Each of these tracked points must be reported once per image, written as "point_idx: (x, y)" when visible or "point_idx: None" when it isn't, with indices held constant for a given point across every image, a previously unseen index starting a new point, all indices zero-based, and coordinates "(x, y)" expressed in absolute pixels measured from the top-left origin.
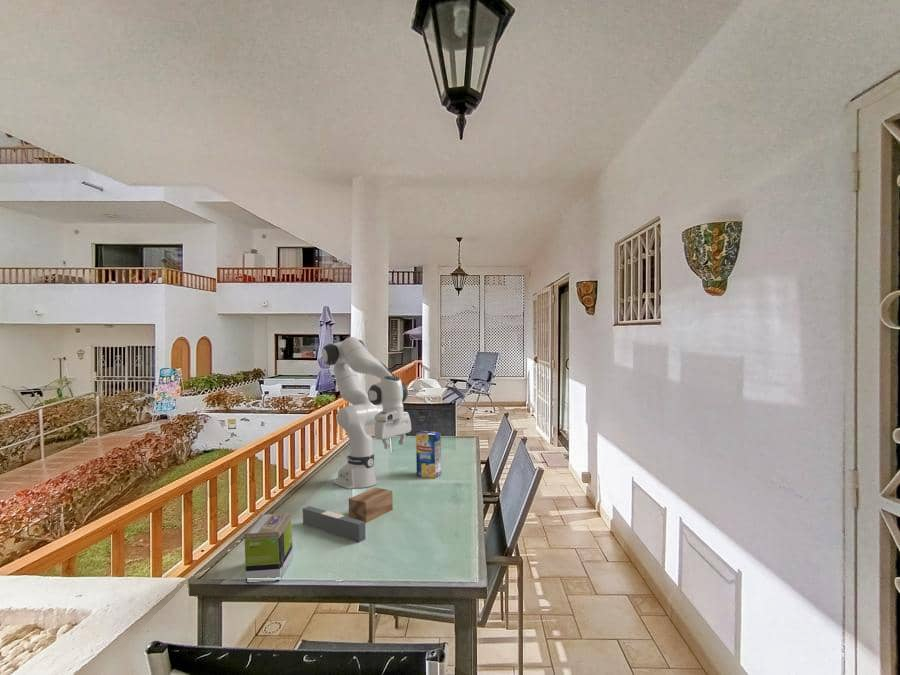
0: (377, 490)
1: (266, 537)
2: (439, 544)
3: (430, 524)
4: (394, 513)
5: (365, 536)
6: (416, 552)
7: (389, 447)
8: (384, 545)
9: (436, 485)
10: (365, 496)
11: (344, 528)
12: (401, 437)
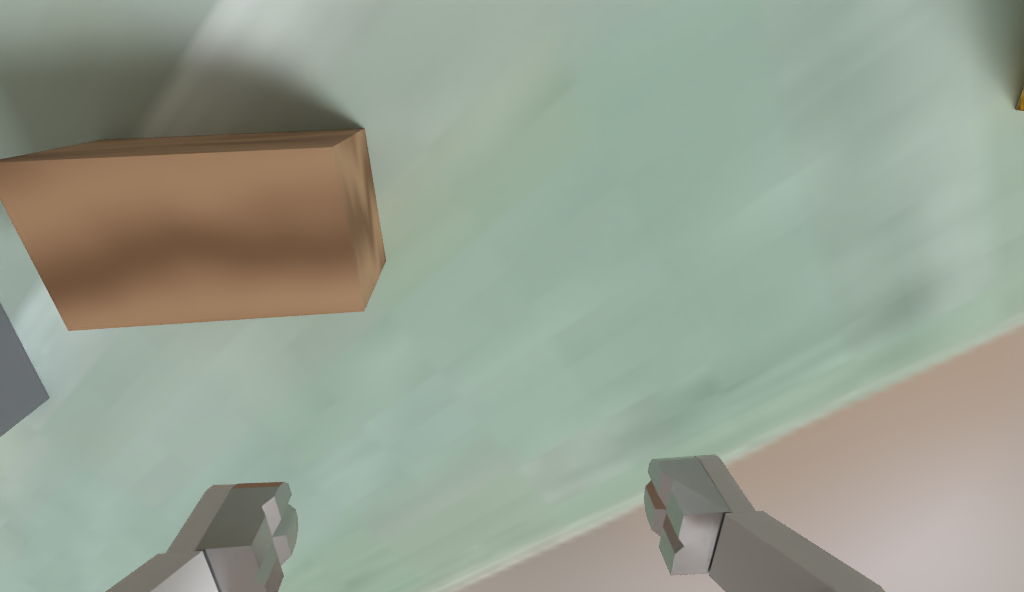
0: (290, 219)
1: None
2: None
3: (363, 490)
4: None
5: (39, 405)
6: None
7: (288, 546)
8: (90, 483)
9: (861, 212)
10: (132, 240)
11: None
12: (779, 578)
